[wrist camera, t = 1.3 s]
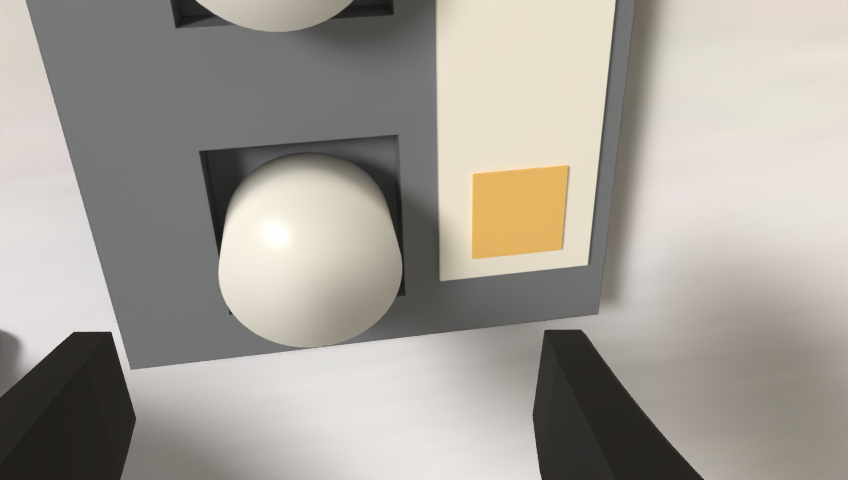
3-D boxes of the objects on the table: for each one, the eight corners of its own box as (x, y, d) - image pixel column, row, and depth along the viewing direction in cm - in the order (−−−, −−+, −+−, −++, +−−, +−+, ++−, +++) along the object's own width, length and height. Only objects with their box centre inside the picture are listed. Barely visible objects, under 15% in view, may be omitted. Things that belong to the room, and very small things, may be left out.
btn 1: (393, 286, 21) (405, 336, 19) (238, 303, 21) (233, 357, 19) (386, 144, 19) (398, 185, 17) (212, 159, 19) (203, 202, 16)
